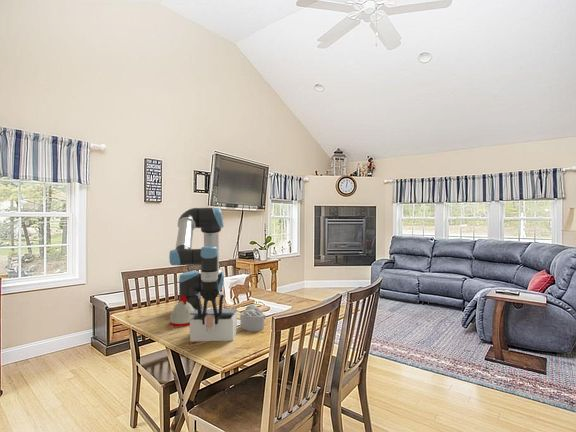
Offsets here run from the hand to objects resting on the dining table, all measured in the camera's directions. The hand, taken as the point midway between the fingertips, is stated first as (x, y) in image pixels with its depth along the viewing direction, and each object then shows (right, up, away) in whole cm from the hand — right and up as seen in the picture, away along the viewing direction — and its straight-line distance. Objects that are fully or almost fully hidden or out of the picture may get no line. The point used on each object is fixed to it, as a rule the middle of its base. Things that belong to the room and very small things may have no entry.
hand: (210, 331), depth 159 cm
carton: (0, -5, +10) cm, 11 cm away
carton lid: (0, +1, +7) cm, 7 cm away
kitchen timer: (-22, -6, +30) cm, 38 cm away
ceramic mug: (+18, -5, +35) cm, 39 cm away
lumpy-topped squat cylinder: (+18, -5, +21) cm, 28 cm away
